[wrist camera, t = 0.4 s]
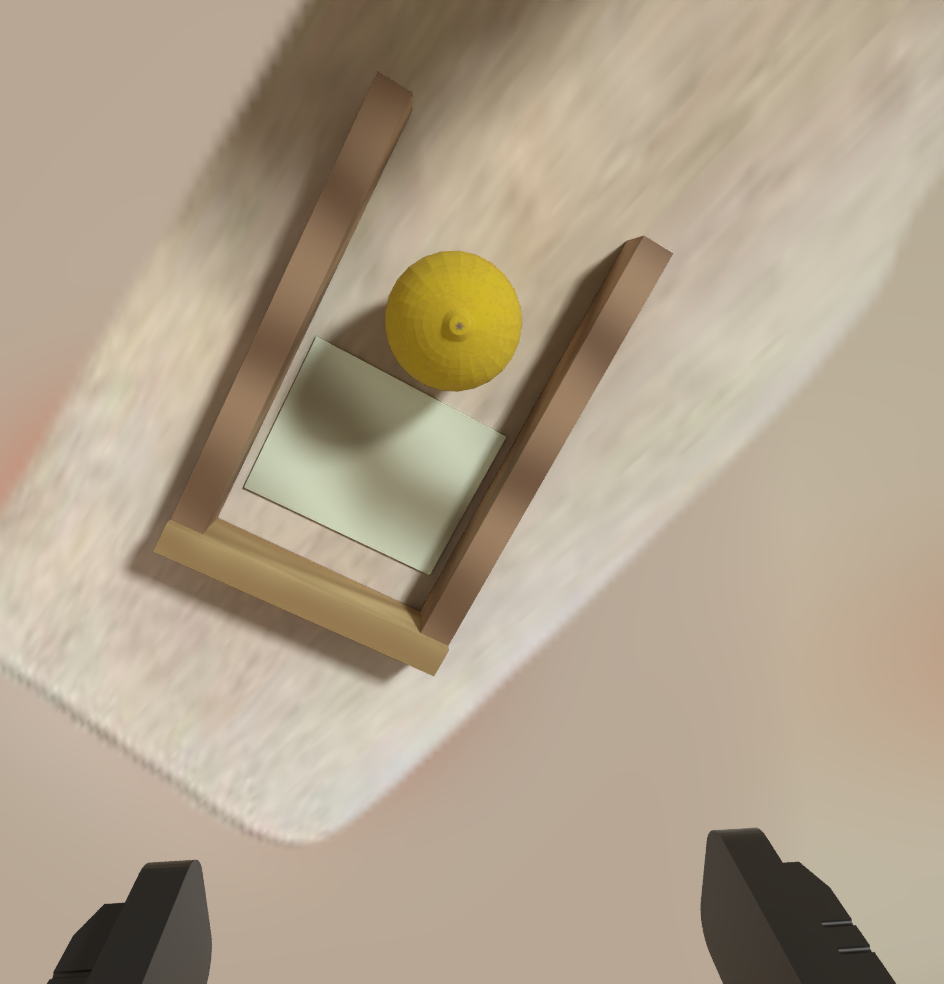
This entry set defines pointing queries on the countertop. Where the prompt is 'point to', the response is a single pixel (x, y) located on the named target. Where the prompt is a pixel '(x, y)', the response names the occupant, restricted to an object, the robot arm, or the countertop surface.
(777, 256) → the countertop surface
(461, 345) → the lemon
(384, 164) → the brown wooden u-shaped frame
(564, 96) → the countertop surface
